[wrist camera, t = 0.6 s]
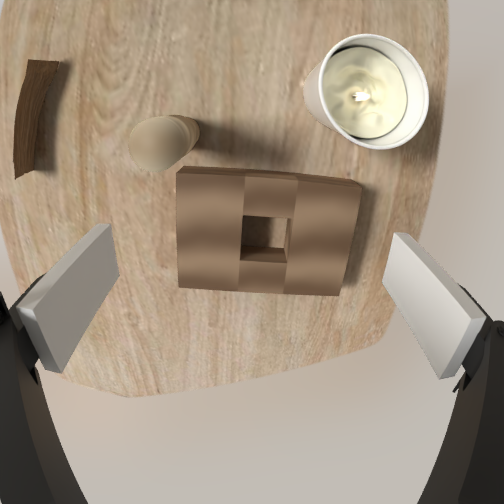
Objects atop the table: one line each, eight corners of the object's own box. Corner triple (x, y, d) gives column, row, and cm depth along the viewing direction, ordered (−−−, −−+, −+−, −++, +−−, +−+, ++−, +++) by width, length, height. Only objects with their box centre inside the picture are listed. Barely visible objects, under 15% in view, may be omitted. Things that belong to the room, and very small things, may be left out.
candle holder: (324, 150, 34) (359, 171, 23) (278, 79, 30) (293, 64, 19) (390, 112, 32) (445, 119, 21) (349, 42, 28) (392, 18, 17)
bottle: (166, 113, 32) (128, 118, 21) (204, 114, 32) (182, 117, 21) (165, 150, 34) (128, 172, 23) (202, 151, 34) (181, 172, 23)
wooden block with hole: (183, 166, 35) (176, 173, 31) (351, 179, 35) (362, 188, 32) (184, 271, 41) (178, 287, 37) (331, 279, 42) (338, 296, 38)
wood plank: (41, 171, 34) (19, 181, 29) (30, 169, 34) (9, 178, 29) (60, 61, 27) (38, 59, 23) (48, 61, 27) (26, 59, 23)
